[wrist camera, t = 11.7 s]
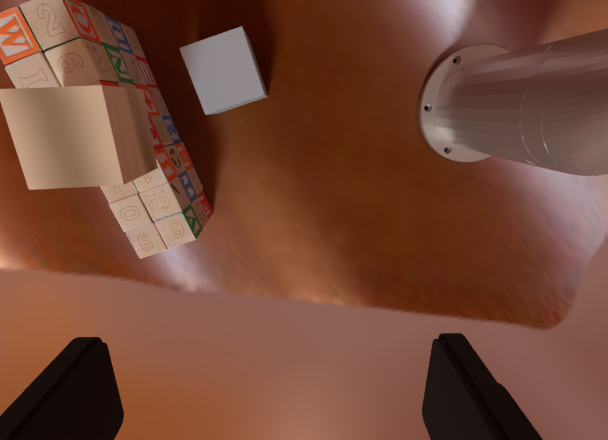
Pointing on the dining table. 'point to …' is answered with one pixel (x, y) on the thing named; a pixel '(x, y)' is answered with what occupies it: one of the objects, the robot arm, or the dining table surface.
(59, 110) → the maple cube
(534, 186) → the dining table surface
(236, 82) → the bluegrey block
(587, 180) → the dining table surface
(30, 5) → the stack of blocks
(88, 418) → the robot arm
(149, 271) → the dining table surface
